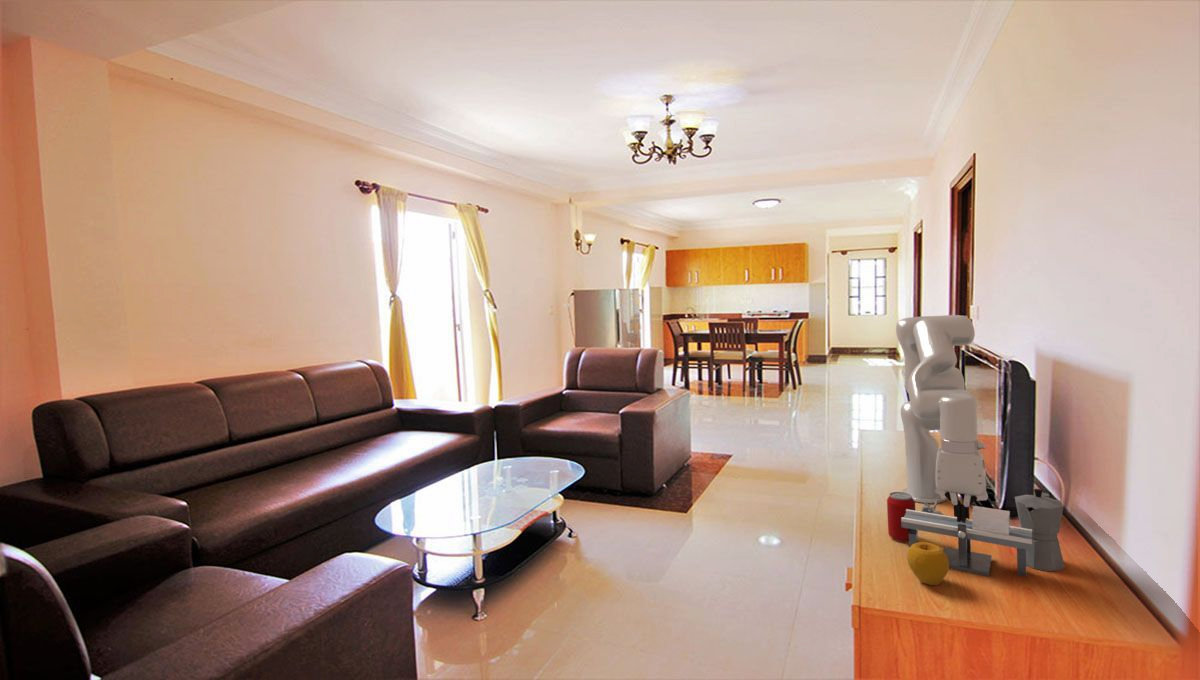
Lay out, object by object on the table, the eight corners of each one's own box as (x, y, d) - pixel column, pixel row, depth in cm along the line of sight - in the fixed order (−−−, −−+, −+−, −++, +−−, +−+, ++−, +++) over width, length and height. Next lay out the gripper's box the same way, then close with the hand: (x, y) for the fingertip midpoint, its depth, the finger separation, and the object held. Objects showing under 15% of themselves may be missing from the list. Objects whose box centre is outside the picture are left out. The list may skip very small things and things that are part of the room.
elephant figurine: (951, 536, 149) (916, 518, 154) (948, 544, 153) (913, 526, 159) (965, 506, 153) (930, 490, 158) (961, 515, 157) (927, 499, 162)
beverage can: (920, 543, 145) (918, 499, 145) (893, 543, 147) (891, 499, 146) (911, 533, 152) (909, 490, 151) (885, 532, 153) (883, 491, 152)
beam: (906, 517, 144) (906, 508, 144) (1032, 539, 128) (1032, 528, 128) (901, 527, 139) (901, 517, 139) (1031, 550, 122) (1031, 540, 122)
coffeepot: (1056, 579, 124) (1054, 501, 123) (1007, 565, 131) (1004, 491, 130) (1075, 556, 133) (1073, 484, 132) (1028, 545, 140) (1026, 476, 139)
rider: (974, 525, 133) (973, 505, 133) (1010, 531, 129) (1009, 511, 129) (972, 532, 130) (971, 511, 130) (1009, 538, 126) (1008, 517, 125)
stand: (914, 543, 145) (912, 503, 145) (1026, 565, 131) (1025, 520, 130) (906, 560, 137) (904, 517, 136) (1026, 585, 122) (1024, 537, 121)
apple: (901, 572, 131) (899, 536, 131) (939, 572, 130) (938, 536, 130) (915, 590, 123) (914, 552, 123) (956, 591, 122) (955, 552, 121)
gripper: (998, 445, 130) (1000, 521, 131) (926, 439, 140) (929, 510, 141) (995, 453, 125) (998, 532, 125) (920, 446, 134) (923, 519, 135)
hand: (961, 520), depth 133 cm, fingers closed
